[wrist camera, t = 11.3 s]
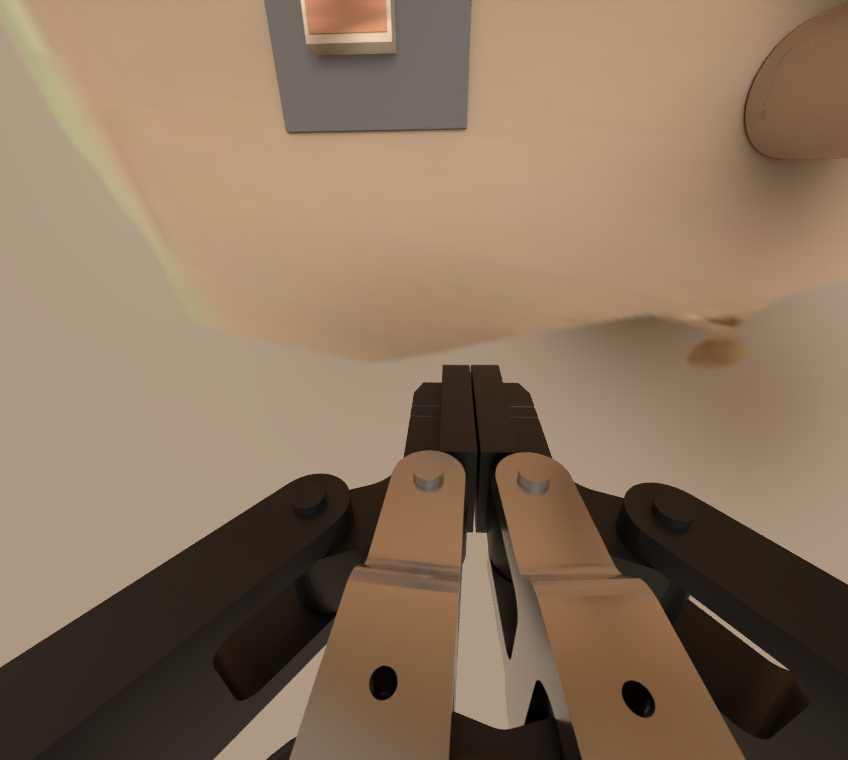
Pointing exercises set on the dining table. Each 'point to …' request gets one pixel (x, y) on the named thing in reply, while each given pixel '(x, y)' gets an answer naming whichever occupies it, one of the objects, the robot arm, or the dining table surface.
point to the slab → (349, 26)
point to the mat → (376, 72)
